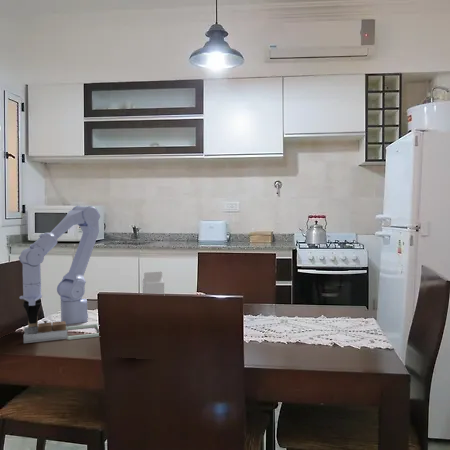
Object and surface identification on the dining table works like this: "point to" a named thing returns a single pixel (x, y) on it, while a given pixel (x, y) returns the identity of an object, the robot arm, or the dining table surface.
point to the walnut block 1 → (44, 327)
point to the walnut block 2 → (59, 326)
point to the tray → (82, 335)
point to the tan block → (34, 323)
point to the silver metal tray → (42, 335)
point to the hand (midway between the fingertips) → (32, 322)
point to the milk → (153, 283)
